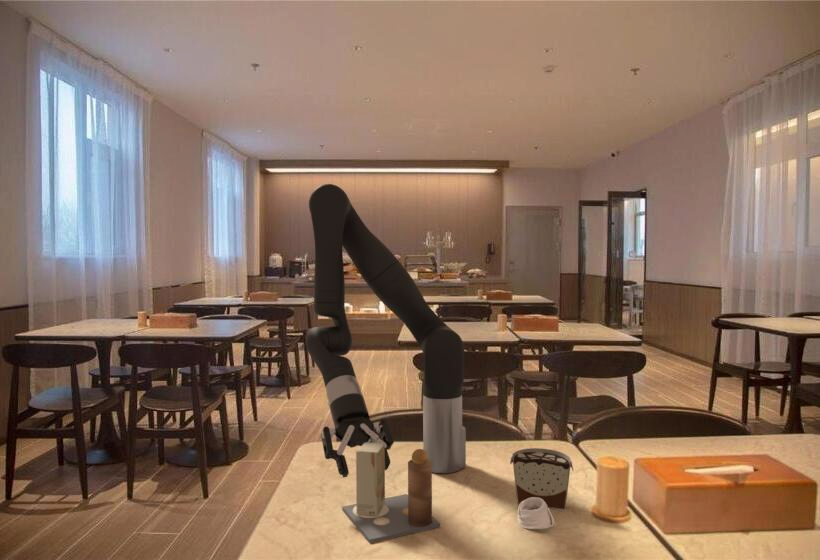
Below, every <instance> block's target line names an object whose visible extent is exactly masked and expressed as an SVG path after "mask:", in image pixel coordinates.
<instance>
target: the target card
mask: <svg viewBox="0 0 820 560" xmlns="http://www.w3.org/2000/svg"><path fill="white" fill-rule="evenodd" d="M341 509H342V512H343V513H344V514H345V515H346V516H347V518H348V519H349V520H350V522H352V524H354V526H355V528H356V529H357V530H358V531H359V532H360V533H361V534H362V536H363V537H364V538H365V540H366V541H367V542H368V543H370V544H371V543H376V542H380V541H385V540H390V539H394V538H399V537H402V536H406V535H411V534H416V533H421V532H423V531H424V532H425V531H429V530H433V529H438V528H441V527H442V525H441V522H439V520H438V519H436V518H435V517H434V516H433V515H432V523H431V524H430V525H428V526H424V527H416V526H413V525H411V524H409V522H408V493H404V494H400V495H395V496H390V497H385V504H384V506H383V508H382V510H381V512H380V513H379V514H378V516H372V515H360V514H357V503H354V504H349V505H343V506H341Z"/></svg>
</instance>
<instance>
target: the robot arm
mask: <svg viewBox="0 0 820 560" xmlns="http://www.w3.org/2000/svg"><path fill="white" fill-rule="evenodd" d="M308 209H309V213H310V217H311V223H312V228H313V229H312V230H313V238H314V276H313V277H314V280H313V282H314V283H313V284H314V285H313V301H314V302H313V311H314V313H315V314H316V315H317V316H319V317H325V318H330V319H331V320H332V322H333V323H334V325H330V326H326V325H325V326H315V327H312V328H310V329H309V330H308V331H307V333H306V336H305V346H306V350H307V352H308V355H309V356H310V357H311V359H312V361H313V362H314V363H315V365H316V367H317V369H318V370H319V372H320V374H321V376H322V379H323V382H324V387H325V391H326V392H325V393H326V399H327V405H328V407H329V410H330V414H331V418H332V422H333V425H334V428H330V427H328V426H324V427H323V429H322V431H321V435H320V436H321V442H322V448H323V453H324V454H323V455H324V458H325V460H330V459H331V460H334V461H335V463H336V466H337V472H338V474H339V475H340V476H342V478H347V477H348V476H349V473H350V471H349V467H348V463H347V460H346V457H345V456H346V455H345V454H343V453H344V451H345V450H346V447H349V448H356V447H357V446H358V447H361V446H362V445H363V444H364V443H365V442H367V443H382V444H385V471H387V470H388V469H389V467H390V465H391V459H390V455H389V450H390V449H392V448H391V447H392V446H393V444H394V438H393V435H392V433H391V431H390V428H389V426H388V423H387V420H386V419H385V418H381V419H380V421H376V422H373V421H372V420H371V419H370V413H369V410H368V408H367V404H366V401H365V397H364V395H363V392H362V388H361V385H360V384H359V382H358V379H357V376H356V372H355V369H354V366H353V363H352V361H351V359H349V358H348V357H345V355H347V354H348V353H350V351H351V349H352V345H353V337H352V332H351V330H350V325H349V322H348V319H347V318H348V317H347V314H346V308H345V307H346V306H345V305H346V304H345V291H346V287H345V270H344V259H343V256H344V255H343V249H344V250H345V252H346V253H347V254H348V257H349V258H350V260H351V262H352V263H353V265H354V266H355V268H356V270H357V272H358V273H359V275H360V276H361V278H362V279H363V280H364V282H365V283H366V285H367V286H368V287H369V288H370V290H372V292H373V293H374V295H376V297H377V298H378V299H379V301H381V302H382V304H384V306H385V307H386V308H388V309H389V310H390V312H392V313H393V314H394V316H396V317H397V318H398V319H399V320H400V321H401V322H402V323H403V324H404V326H406V327H407V329H408V330H409V332H410V334H411V335H412V336H413V338H414V339H415V341H416V343H417V344H418V346H419V348H420V349H421V351H422V353H423V358H424V359H423V361H424V362H423V363H424V364H423V367H424V369H423V372H424V374H423V383H422V419H423V420H422V422H423V423H422V427H423V428H422V430H423V431H422V436H423V437H422V442H423V445H422V446H423V448H422V449H423V450H424V451H426V453H427V455H428V460H430V461H431V462H432V473H436V474H450V473H452V474H453V473H456V472H459V471H460V470H461V469H464V468H466V467H467V450H466V444H467V443H466V439H467V437H466V436H467V433H466V430H467V429H466V427H465V426H464V425H463V386H464V381H465V378H464V375H465V347H464V343H463V339H462V338H461V336H460V335H459V334H458V333H457V332H456V331H454V329H452V328H451V327H449V326H448V324H446V323H445V321H444V320H442V319H441V318H440V316H438V314H436V312H435V311H434V310H433V309H432V308H431V307H430V306H429V304H428V303H427V302H426V300H425V298H424V296H423V295H422V292H421V291H420V288H419V287H418V286H417V283H415V280H414V279H413V277H412V276H411V275H410V274H409V272H408V270H407V269H406V268H405V267H404V265H403V264H402V263H401V262H400V261H399V260H398V257H396V255H394V253H393V252H392V251H391V250H390V249H389V248H388V247H387V246H386V245H385V244H384V243H383V241H381V240H380V239H379V238H378V237H377V236H376V235H375V234H373V233H372V231H371V230H369V228H368V226H366V224H365V223H364V221H363V220H362V218H361V216H360V215H359V214H358V213H357V211H356V210H355V208H354V206H353V204H352V203H351V201H350V198H349V196H348V195H347V193H346V192H345V190H344V189H343V188H341V187H340V186H338V185H336V184H332V183H324V184H321V185H319V186H317V187H316V188H315V189H314V190H313V191H312V193H311V194H310V196H309V200H308ZM374 430H376V432H377V433H375V432H374ZM378 434H379V435H380V436H379V435H378ZM334 436H335V437H336V438H337V439H339V440H340V444H339V446H338V448H337V449H334V447H333V446H334V445H333V441H332V439H333V437H334Z"/></svg>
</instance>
